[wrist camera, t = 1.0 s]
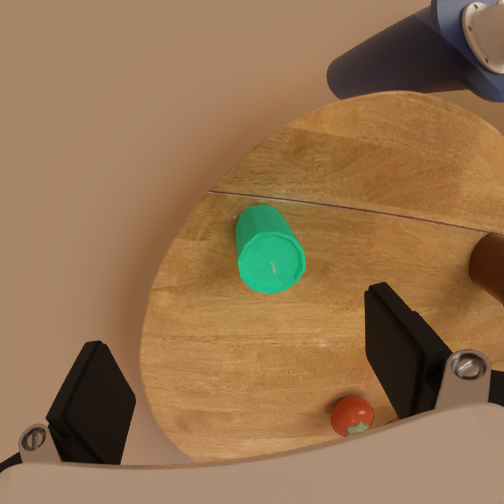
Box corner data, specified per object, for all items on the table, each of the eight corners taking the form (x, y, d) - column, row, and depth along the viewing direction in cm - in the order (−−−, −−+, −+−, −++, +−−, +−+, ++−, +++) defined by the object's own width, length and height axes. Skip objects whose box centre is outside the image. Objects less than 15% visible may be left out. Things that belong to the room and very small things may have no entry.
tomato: (350, 418, 52) (362, 451, 44) (318, 413, 50) (328, 448, 43) (374, 392, 50) (390, 424, 42) (341, 384, 48) (356, 420, 41)
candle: (289, 206, 37) (315, 240, 26) (283, 255, 39) (303, 304, 28) (237, 202, 37) (241, 234, 25) (233, 251, 39) (235, 301, 27)
